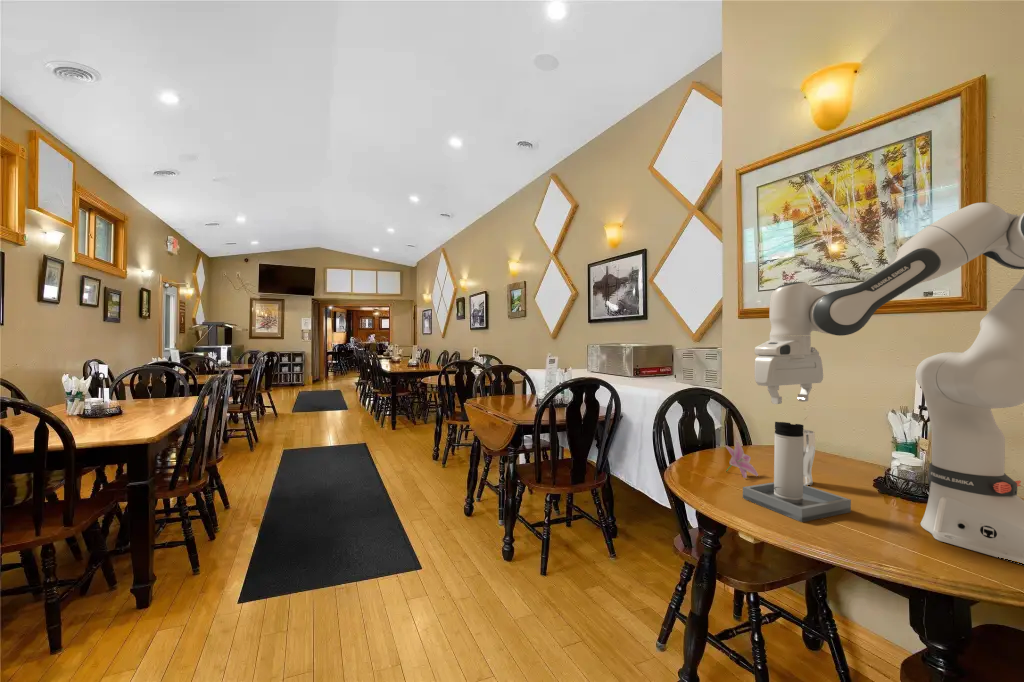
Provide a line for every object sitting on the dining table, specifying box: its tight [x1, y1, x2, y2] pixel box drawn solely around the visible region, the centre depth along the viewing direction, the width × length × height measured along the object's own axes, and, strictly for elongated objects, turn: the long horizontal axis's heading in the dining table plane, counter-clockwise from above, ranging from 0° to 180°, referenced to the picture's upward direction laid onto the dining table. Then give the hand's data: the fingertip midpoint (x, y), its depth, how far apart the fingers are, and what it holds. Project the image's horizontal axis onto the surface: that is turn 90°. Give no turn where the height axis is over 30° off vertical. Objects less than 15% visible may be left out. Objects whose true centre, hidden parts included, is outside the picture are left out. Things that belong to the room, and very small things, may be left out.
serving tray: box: [742, 481, 852, 523], centre depth 114 cm, size 16×17×3 cm
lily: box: [724, 439, 759, 479], centre depth 139 cm, size 12×12×10 cm
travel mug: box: [773, 421, 804, 504], centre depth 114 cm, size 6×7×20 cm
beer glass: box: [803, 428, 816, 486], centre depth 132 cm, size 7×7×15 cm
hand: (790, 402), depth 114 cm, fingers open, 8 cm apart
